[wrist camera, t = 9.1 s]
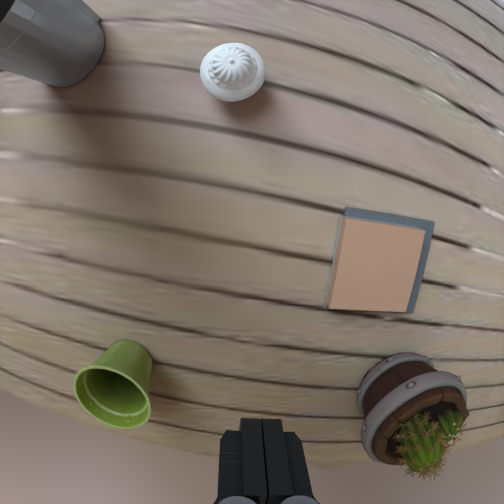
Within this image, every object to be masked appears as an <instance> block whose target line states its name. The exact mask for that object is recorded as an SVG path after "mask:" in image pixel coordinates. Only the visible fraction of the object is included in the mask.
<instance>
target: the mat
mask: <svg viewBox="0 0 504 504" xmlns="http://www.w3.org/2000/svg"><path fill="white" fill-rule="evenodd" d="M344 216H347V217H354V218H361V219H368V220H374V221H381V222H388V223H394V224H400V225H406V226H413V227H418V228H420V229H422V230H425V235H424V240H423V245H422V250H421V254H420V259H419V263H418V267H417V271H416V276H415V280H414V283H413V287H412V291H411V295H410V298H409V302H408V306H407V309H406V312H396V313H413V310H414V306H415V303H416V299H417V296H418V292H419V288H420V285H421V281H422V277H423V273H424V269H425V265H426V260H427V256H428V252H429V247H430V242H431V238H432V233H433V227H434V222H433V221H428V220H422V219H417V218H411V217H405V216H400V215H394V214H388V213H382V212H375V211H369V210H363V209H356V208H350V207H346V208H345V214H344ZM327 309H331V308H329V307H328V306H327ZM333 310H348V309H333ZM351 311H368V310H351ZM371 312H392V311H371Z"/></svg>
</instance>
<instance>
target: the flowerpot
mask: <svg viewBox="0 0 504 504" xmlns="http://www.w3.org/2000/svg"><path fill="white" fill-rule="evenodd" d="M466 402H467V394H466V389H465V387H464V385H463V383H462V381H461V377H460V376H456V375H454V374H452V373H449V372H443V371H437V370H436V369H434V366H433V364H432V363H431V362H430V361H429V360H428V357H427V356H424V357H423V356H422V355H419V354H416V353H398V354H395V355H392V356H389V357H387V358H385V359H383V360H382V361H381V362H379V363H378V364H376V365H375V366H374V367H373V369H371V370H369V371H368V372H367V374H366V375H365V376H364V378H363V380H362V382H361V385H360V387H359V389H358V406H359V411H360V413H361V415H362V416H363V417H364V423H363V426H362V429H361V439H362V444H363V447H364V449H365V451H366V453H367V454H368V455H369V456H370V458H372V459H373V460H375V461H377V462H380V463H386V464H391V465H404V464H407V466H408V468H410V469H407V470H410V471H409V473H412V471H414V472H420V475H419V477H420V476H421V474H423V476H424V474H425V475H426V474H429V473H430V472H431V475H432V473H433V475H434V474H435V473H436V471H438V470H435V469H438V467H440V466H442V465H440V464H442V462H444V461H442V462H441V460H443V459H441V458H442V456H443V454H444V452H445V453H446V451H447V450H448V451H447V452H450V451H449V450H450V448H449V449H447V448H448V447H450V446H453V444H455V440H456V438H457V437H456V436H457V435H456V434H458V432H460V430H461V429H463V428H462V424H463V423H464V421H465V419H466V415H467V409H466ZM465 425H466V424H465ZM465 425H464V426H465ZM464 426H463V427H464ZM461 431H462V430H461ZM462 432H463V431H462ZM460 434H461V433H460ZM455 437H456V438H455ZM452 438H453V440H454V443H453V444H452V445H450V446H448V445H449V444H448V441H450V440H451V439H452ZM457 439H458V438H457ZM459 440H460V439H459ZM456 441H457V440H456ZM442 442H444V444H443V443H442ZM459 442H460V441H459ZM445 443H446V444H447V445H446V444H445ZM442 444H443V445H442ZM444 445H445V446H444ZM447 446H448V447H447ZM451 449H452V448H451ZM440 462H441V463H440ZM439 463H440V464H439ZM444 463H445V462H444ZM440 468H441V467H440ZM439 470H440V469H439ZM441 470H442V469H441ZM421 472H422V473H421ZM425 472H426V473H425ZM427 472H428V473H427ZM407 473H408V472H407ZM436 474H438V473H436ZM411 475H412V474H411ZM438 475H440V474H438ZM427 476H428V475H427ZM412 477H413V476H412ZM425 478H426V477H425ZM425 478H424V479H425ZM430 479H431V476H430ZM434 479H435V475H434Z"/></svg>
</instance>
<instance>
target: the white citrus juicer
mask: <svg viewBox="0 0 504 504" xmlns="http://www.w3.org/2000/svg"><path fill="white" fill-rule="evenodd" d="M200 77H201V81H202V84H203V86H204V88H205V89H206V90H207V92H208V93H209V94H211V95H212V96H214V97H215V98H217V99H220V100H223V101H228V102H235V101H240V100H244V99H246V98H248V97H250V96H251V95H253V94H254V93H255V92H257V91H258V90H259V89H260V87H261V86H262V84H263V82H264V80H265V66H264V62H263V60H262V58H261V56H260V55H259V54H258V53H257V52H256V51H255V50H254V49H252V48H251V47H249V46H247V45H244V44H240V43H228V44H223V45H220V46H218V47H216V48H214V49H213V50H211V51H210V52H209V53H208V54H207V55H206V56H205V57H204V59H203V61H202V63H201V67H200Z"/></svg>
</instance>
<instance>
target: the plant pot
mask: <svg viewBox="0 0 504 504" xmlns="http://www.w3.org/2000/svg"><path fill="white" fill-rule="evenodd" d="M152 365H153V363H152V358H151V357H150V355H149V354H148V352H147V350H146V349H145V348H144V347H143V346H142V345H140V344H138V343H136V342H134V341H131V340H121V341H118V342H115V343H114V344H112V345H111V346H110V347H109V349H108V350H107V351H106V352H105V353H104V354H103V355H102V356H101V357H100V358H99V359H98V360H97V361H96V362H95V363H94V364H91V365H90V366H86V367H84V368H82V369H81V370H80V371H79V372H78V373H77V374H76V376H75V378H74V382H73V388H74V392H75V395H76V398H77V400H78V401H79V403H80V404H81V406H82V407H83V408H84V409H85V410H86V411H87V412H88V413H89V414H90V415H91V416H93V417H94V418H95V419H97V420H98V421H100V422H102V423H104V424H106V425H109V426H112V427H116V428H120V429H133V428H138V427H140V426H142V425H144V424H145V423H146V422H147V421H148V420H149V418H150V415H151V402H150V399H149V386H150V379H151V373H152Z"/></svg>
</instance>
